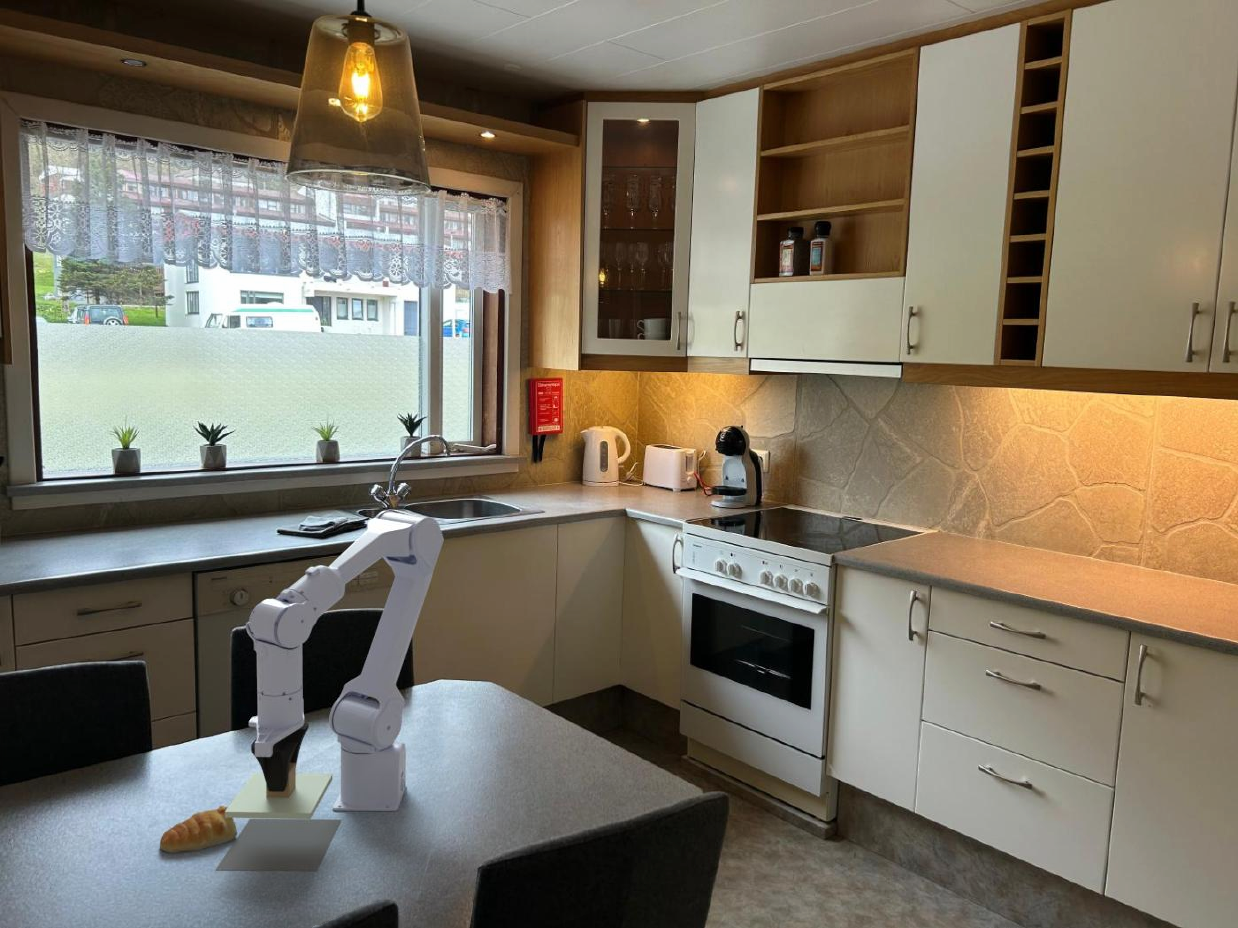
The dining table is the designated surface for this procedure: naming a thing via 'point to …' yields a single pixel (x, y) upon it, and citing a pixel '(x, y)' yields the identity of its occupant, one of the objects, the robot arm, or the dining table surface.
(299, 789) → the cover
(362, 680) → the robot arm
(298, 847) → the mat
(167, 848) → the pastry
